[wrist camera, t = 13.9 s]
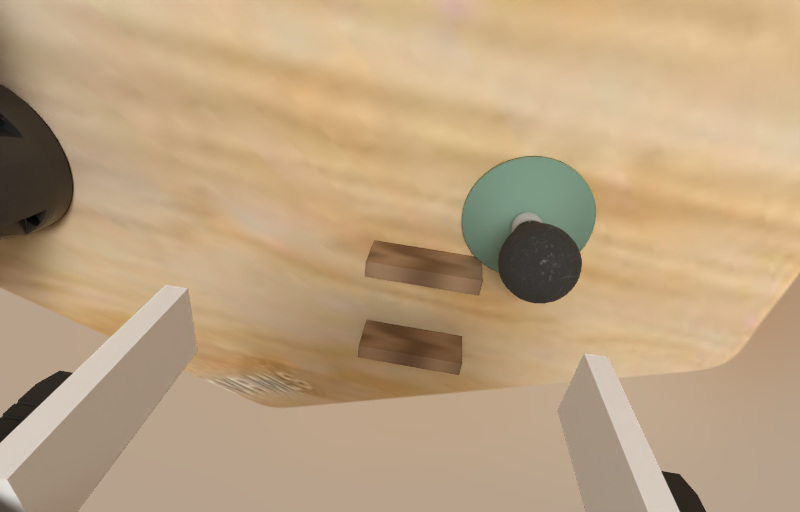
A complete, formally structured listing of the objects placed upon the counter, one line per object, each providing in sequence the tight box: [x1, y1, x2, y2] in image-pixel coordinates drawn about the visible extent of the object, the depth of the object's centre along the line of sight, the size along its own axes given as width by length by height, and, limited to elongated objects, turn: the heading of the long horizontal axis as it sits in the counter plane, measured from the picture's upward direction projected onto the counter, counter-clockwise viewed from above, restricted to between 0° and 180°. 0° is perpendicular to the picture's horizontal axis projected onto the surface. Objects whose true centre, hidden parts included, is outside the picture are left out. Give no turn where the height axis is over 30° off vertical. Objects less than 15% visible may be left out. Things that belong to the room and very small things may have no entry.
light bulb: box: [498, 212, 582, 303], centre depth 32 cm, size 6×6×10 cm
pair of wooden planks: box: [358, 241, 483, 375], centre depth 40 cm, size 10×11×4 cm
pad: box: [462, 156, 596, 272], centre depth 36 cm, size 11×11×1 cm
